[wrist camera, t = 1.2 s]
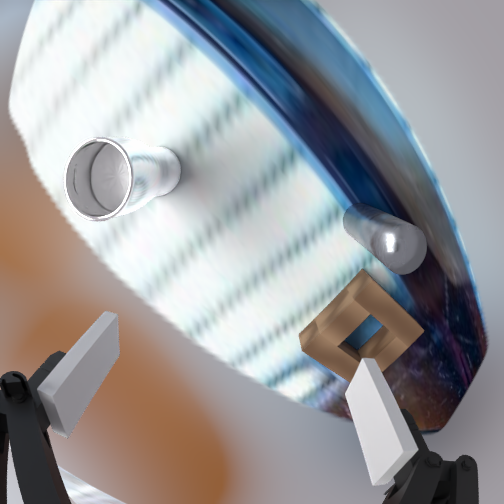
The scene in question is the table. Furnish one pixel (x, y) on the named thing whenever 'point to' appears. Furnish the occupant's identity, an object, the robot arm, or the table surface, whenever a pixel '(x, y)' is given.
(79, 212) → the beer glass
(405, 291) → the table surface
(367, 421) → the robot arm
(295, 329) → the table surface
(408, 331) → the socket block
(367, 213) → the steel peg
